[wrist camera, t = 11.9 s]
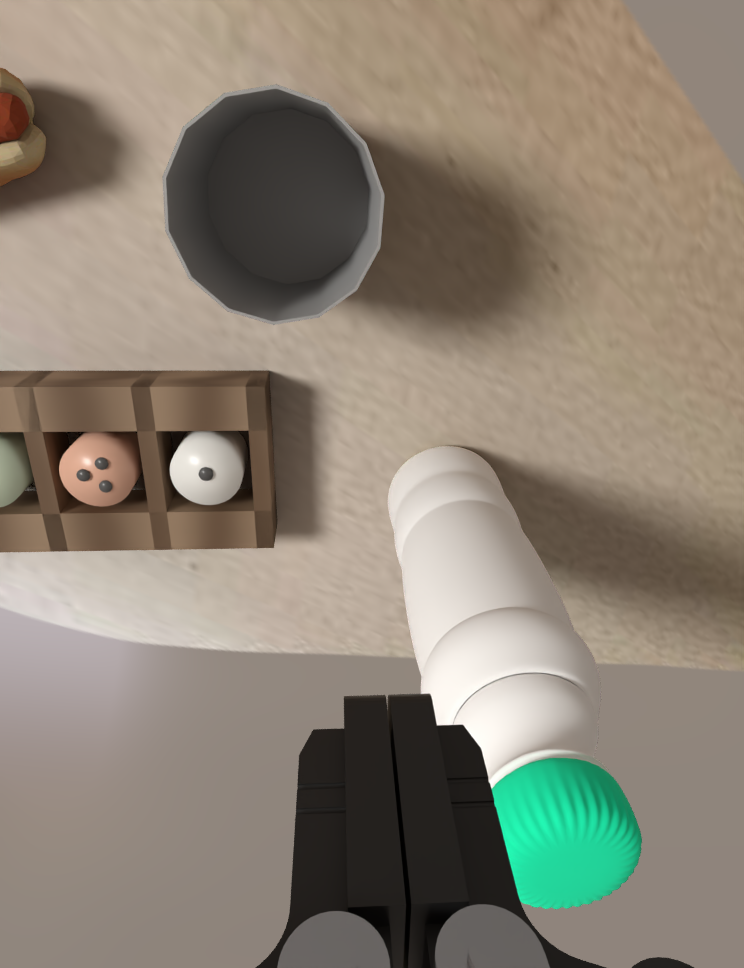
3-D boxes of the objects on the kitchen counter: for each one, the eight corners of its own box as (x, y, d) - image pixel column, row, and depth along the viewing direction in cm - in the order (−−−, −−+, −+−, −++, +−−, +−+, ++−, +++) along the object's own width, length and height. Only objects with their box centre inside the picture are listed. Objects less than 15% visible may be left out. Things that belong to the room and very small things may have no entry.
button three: (142, 421, 39) (127, 441, 36) (151, 483, 40) (137, 507, 38) (72, 422, 38) (51, 442, 36) (84, 483, 40) (65, 508, 37)
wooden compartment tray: (269, 370, 38) (264, 386, 35) (277, 523, 42) (273, 547, 40) (-75, 370, 37) (-108, 387, 34) (-31, 527, 41) (-56, 553, 38)
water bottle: (517, 466, 41) (739, 824, 19) (464, 555, 44) (604, 961, 22) (417, 424, 40) (530, 761, 17) (368, 519, 42) (412, 917, 20)
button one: (246, 420, 39) (239, 441, 36) (250, 482, 41) (244, 505, 38) (177, 421, 39) (165, 441, 36) (184, 482, 40) (173, 506, 38)
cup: (357, 95, 32) (368, 68, 23) (381, 269, 36) (398, 304, 27) (187, 124, 32) (132, 108, 23) (227, 294, 36) (194, 337, 27)
